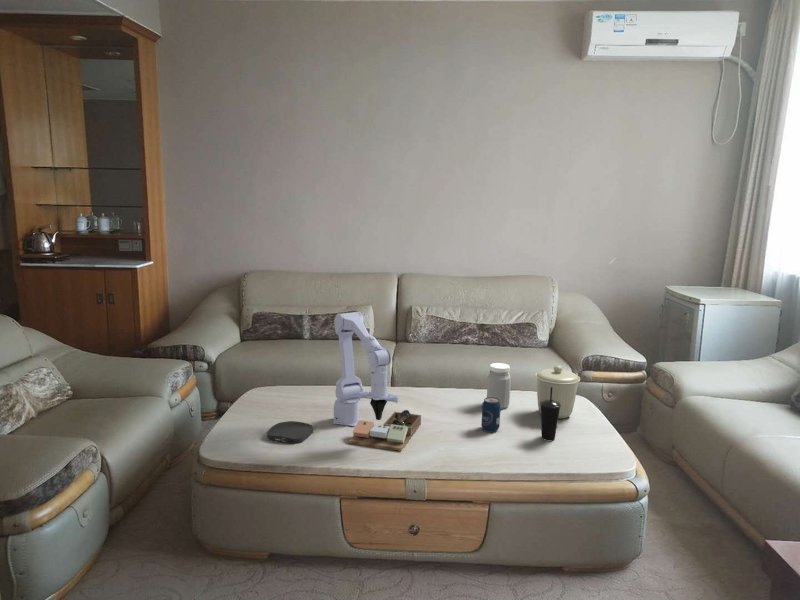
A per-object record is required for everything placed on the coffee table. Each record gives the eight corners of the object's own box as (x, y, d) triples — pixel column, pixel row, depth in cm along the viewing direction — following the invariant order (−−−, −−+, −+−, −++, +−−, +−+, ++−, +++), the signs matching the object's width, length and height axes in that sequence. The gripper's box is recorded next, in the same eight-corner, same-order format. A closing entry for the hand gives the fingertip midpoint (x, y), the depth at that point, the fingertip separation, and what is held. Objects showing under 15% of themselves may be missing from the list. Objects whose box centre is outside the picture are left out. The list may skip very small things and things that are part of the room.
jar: (492, 400, 265) (494, 360, 261) (513, 405, 259) (515, 365, 256) (482, 406, 257) (484, 365, 254) (503, 411, 251) (505, 370, 248)
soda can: (477, 429, 232) (479, 399, 230) (487, 424, 237) (489, 395, 235) (492, 434, 228) (494, 404, 225) (502, 429, 233) (504, 399, 230)
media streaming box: (316, 430, 229) (316, 423, 228) (299, 446, 215) (299, 438, 214) (281, 426, 233) (281, 418, 232) (263, 440, 219) (263, 433, 218)
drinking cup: (559, 435, 227) (563, 385, 224) (557, 443, 220) (561, 391, 217) (538, 432, 230) (542, 382, 226) (536, 440, 223) (539, 389, 219)
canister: (574, 408, 256) (578, 361, 253) (579, 424, 239) (583, 373, 235) (531, 405, 259) (534, 358, 256) (533, 420, 242) (536, 370, 238)
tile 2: (369, 435, 217) (369, 430, 217) (375, 429, 223) (375, 424, 222) (385, 438, 215) (385, 432, 215) (390, 431, 221) (390, 426, 221)
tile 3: (387, 441, 216) (386, 437, 215) (392, 427, 221) (391, 423, 219) (403, 443, 215) (402, 440, 213) (407, 429, 219) (406, 426, 217)
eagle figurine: (412, 429, 228) (414, 417, 236) (402, 415, 226) (404, 403, 234) (395, 438, 230) (398, 425, 238) (385, 424, 228) (388, 411, 236)
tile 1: (353, 435, 220) (352, 431, 219) (359, 423, 225) (358, 419, 223) (369, 437, 218) (368, 433, 217) (374, 425, 223) (373, 421, 222)
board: (348, 443, 217) (348, 433, 216) (373, 418, 241) (373, 408, 241) (401, 451, 211) (401, 441, 210) (421, 424, 235) (421, 415, 235)
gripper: (356, 383, 212) (355, 420, 214) (395, 388, 208) (394, 425, 210) (363, 378, 218) (362, 413, 221) (401, 382, 214) (400, 418, 217)
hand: (378, 418), depth 216 cm, fingers closed
